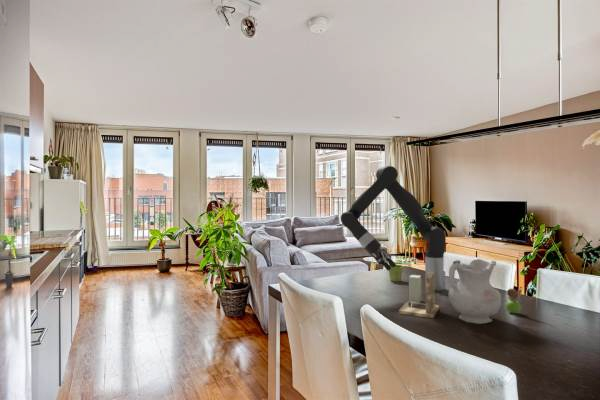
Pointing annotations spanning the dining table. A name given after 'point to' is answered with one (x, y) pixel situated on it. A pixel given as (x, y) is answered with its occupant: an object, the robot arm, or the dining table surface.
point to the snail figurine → (513, 300)
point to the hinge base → (423, 308)
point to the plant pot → (396, 273)
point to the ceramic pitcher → (474, 291)
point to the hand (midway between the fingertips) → (392, 267)
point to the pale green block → (415, 288)
